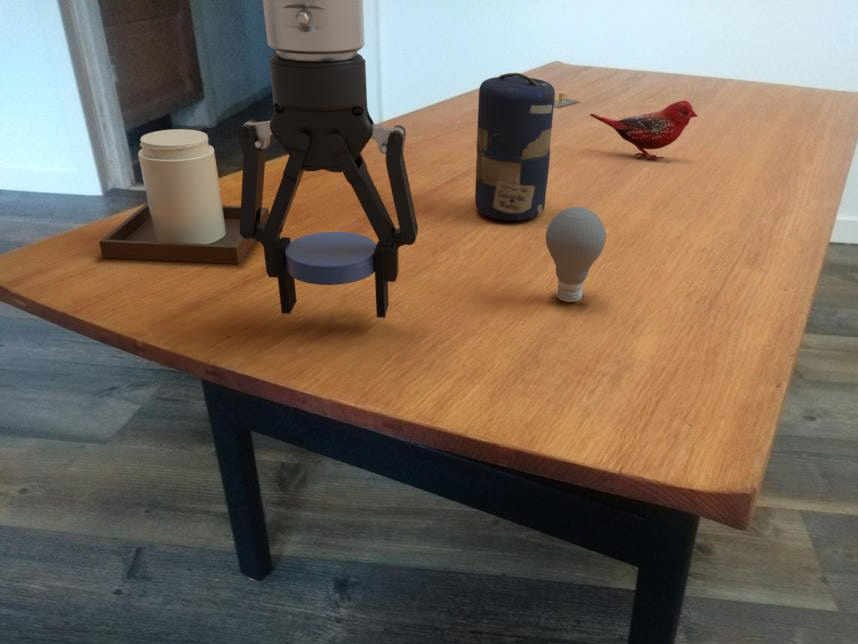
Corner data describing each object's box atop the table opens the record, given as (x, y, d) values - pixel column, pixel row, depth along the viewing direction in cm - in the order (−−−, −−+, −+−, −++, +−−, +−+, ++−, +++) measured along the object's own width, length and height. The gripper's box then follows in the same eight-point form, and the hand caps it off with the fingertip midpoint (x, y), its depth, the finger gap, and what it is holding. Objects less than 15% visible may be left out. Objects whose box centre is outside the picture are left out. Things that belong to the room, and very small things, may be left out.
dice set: (534, 100, 164) (535, 91, 163) (548, 97, 167) (549, 88, 166) (553, 104, 161) (554, 95, 160) (567, 101, 165) (568, 92, 164)
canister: (510, 197, 107) (518, 63, 98) (559, 215, 101) (572, 75, 92) (459, 210, 101) (463, 70, 92) (508, 231, 95) (517, 83, 86)
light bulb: (552, 283, 82) (561, 194, 77) (605, 295, 80) (617, 205, 75) (531, 304, 77) (539, 211, 72) (586, 318, 75) (598, 223, 70)
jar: (143, 246, 85) (122, 144, 79) (169, 221, 92) (152, 126, 86) (213, 249, 85) (198, 148, 80) (234, 224, 92) (221, 129, 86)
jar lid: (297, 247, 72) (295, 230, 71) (382, 250, 72) (381, 232, 71) (277, 284, 65) (275, 264, 64) (372, 286, 65) (371, 267, 64)
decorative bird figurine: (688, 166, 124) (699, 103, 119) (583, 152, 129) (590, 92, 124) (690, 161, 126) (701, 100, 121) (587, 148, 131) (594, 89, 126)
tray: (102, 258, 83) (98, 241, 82) (150, 217, 95) (147, 202, 94) (238, 264, 83) (236, 247, 82) (270, 222, 95) (268, 207, 94)
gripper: (166, 54, 56) (212, 323, 68) (446, 65, 56) (444, 332, 67) (201, 40, 62) (237, 287, 74) (452, 50, 62) (449, 296, 74)
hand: (335, 308), depth 71 cm, fingers closed on jar lid, 8 cm apart
